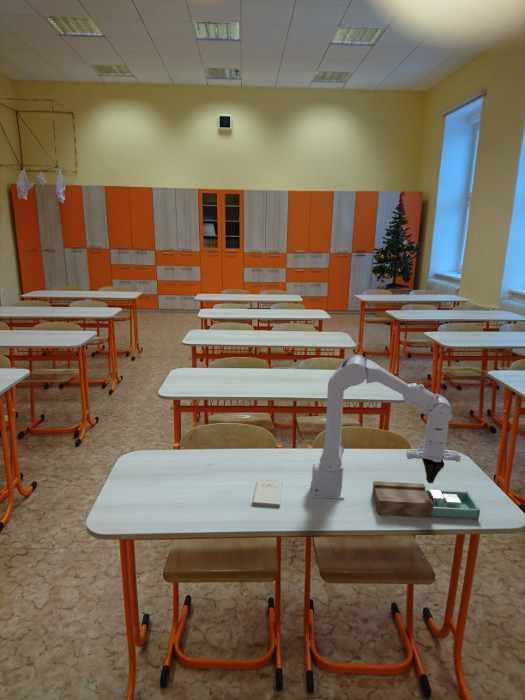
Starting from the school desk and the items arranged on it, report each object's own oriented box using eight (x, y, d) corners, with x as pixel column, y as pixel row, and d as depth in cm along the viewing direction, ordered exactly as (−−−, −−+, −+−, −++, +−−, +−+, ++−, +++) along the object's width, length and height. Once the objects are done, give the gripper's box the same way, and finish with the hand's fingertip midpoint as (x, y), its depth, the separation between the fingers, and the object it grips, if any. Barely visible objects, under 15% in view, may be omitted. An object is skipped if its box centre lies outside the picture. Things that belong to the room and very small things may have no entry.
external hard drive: (252, 506, 130) (257, 483, 142) (280, 509, 129) (282, 485, 141) (252, 502, 130) (257, 478, 142) (280, 504, 129) (282, 480, 141)
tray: (431, 517, 126) (433, 507, 125) (422, 497, 135) (423, 489, 134) (478, 519, 125) (480, 510, 124) (466, 500, 134) (467, 491, 133)
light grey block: (461, 502, 127) (459, 511, 128) (456, 494, 131) (455, 503, 131) (446, 501, 127) (445, 510, 128) (442, 493, 131) (441, 502, 132)
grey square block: (442, 510, 128) (432, 509, 128) (438, 501, 132) (428, 501, 132) (444, 498, 127) (433, 497, 127) (439, 490, 131) (429, 489, 131)
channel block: (378, 514, 126) (379, 500, 125) (372, 494, 136) (373, 481, 135) (431, 517, 125) (433, 503, 124) (421, 497, 135) (423, 483, 134)
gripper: (413, 444, 121) (407, 487, 124) (467, 446, 120) (460, 490, 123) (406, 432, 127) (401, 474, 131) (457, 435, 127) (451, 476, 130)
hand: (429, 481), depth 128 cm, fingers closed
